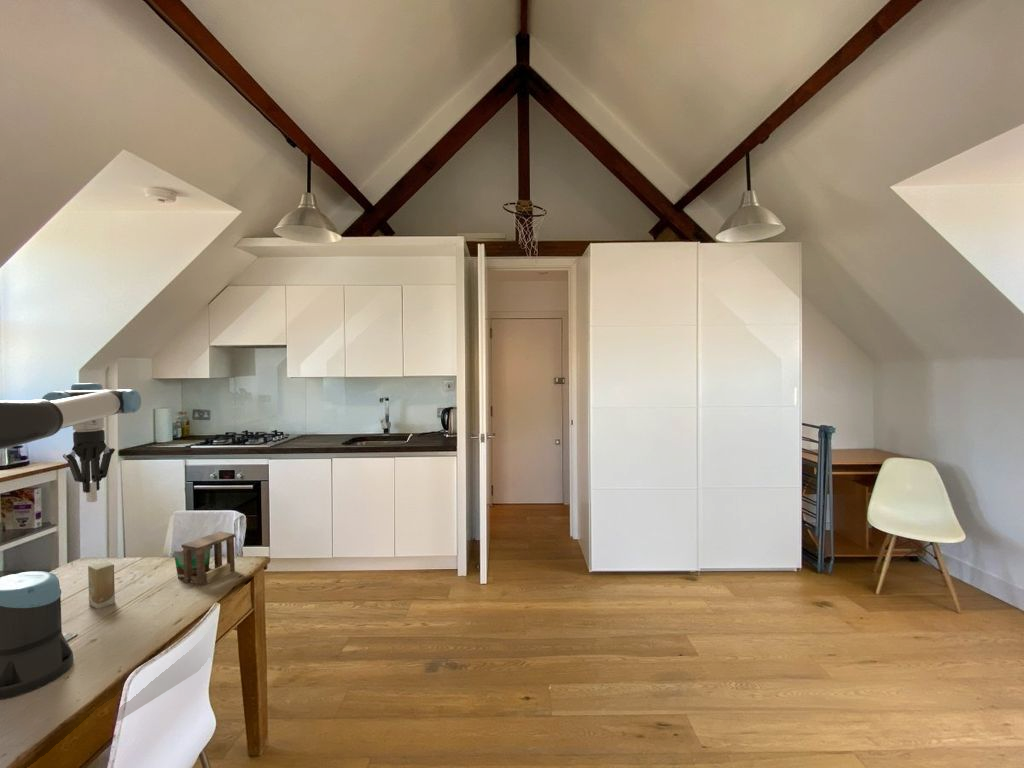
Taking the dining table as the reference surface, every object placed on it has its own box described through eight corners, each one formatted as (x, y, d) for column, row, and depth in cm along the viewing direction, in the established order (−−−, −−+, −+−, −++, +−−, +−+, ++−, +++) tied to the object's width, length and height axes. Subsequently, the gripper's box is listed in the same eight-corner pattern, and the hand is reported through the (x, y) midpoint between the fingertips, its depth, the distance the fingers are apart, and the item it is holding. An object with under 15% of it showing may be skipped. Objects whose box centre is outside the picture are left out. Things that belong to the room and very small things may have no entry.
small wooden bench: (200, 587, 146) (198, 548, 146) (182, 583, 149) (181, 544, 149) (237, 570, 158) (236, 534, 158) (220, 566, 161) (219, 531, 161)
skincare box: (88, 604, 136) (86, 565, 136) (106, 598, 140) (104, 559, 139) (97, 609, 133) (96, 569, 133) (116, 602, 137) (114, 563, 136)
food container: (184, 583, 149) (183, 554, 148) (173, 580, 151) (172, 551, 151) (221, 568, 160) (220, 541, 160) (210, 565, 162) (209, 538, 162)
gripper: (69, 433, 139) (73, 508, 139) (119, 428, 151) (122, 497, 152) (56, 432, 141) (59, 505, 142) (106, 427, 154) (108, 495, 154)
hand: (91, 501), depth 147 cm, fingers closed
